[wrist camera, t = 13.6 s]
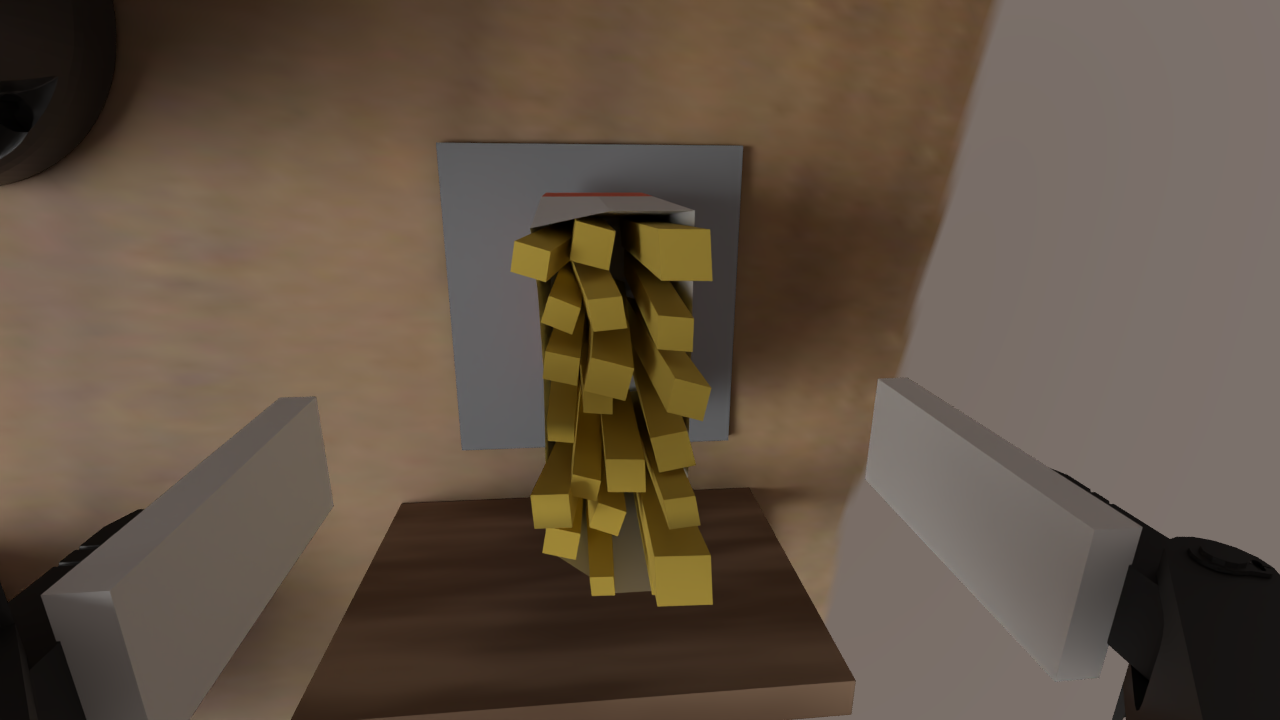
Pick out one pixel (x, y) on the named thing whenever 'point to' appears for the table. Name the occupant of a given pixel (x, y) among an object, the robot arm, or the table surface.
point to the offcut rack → (572, 629)
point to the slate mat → (508, 302)
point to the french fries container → (620, 390)
